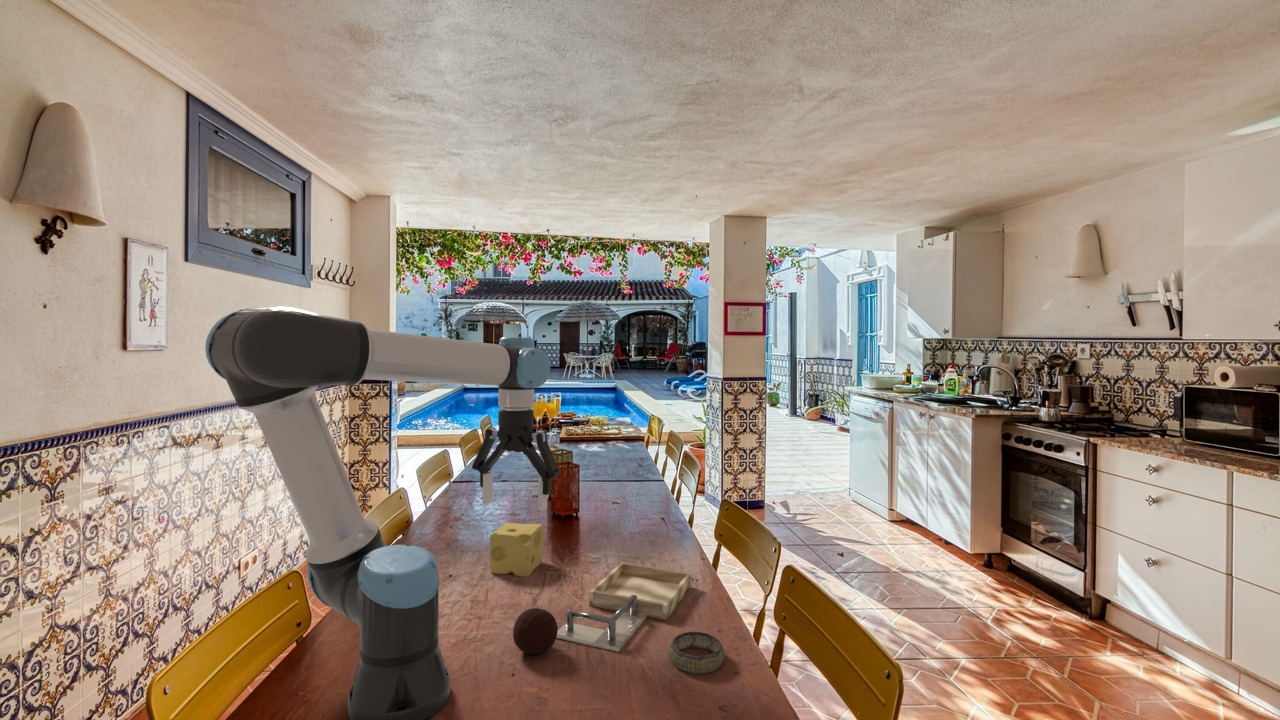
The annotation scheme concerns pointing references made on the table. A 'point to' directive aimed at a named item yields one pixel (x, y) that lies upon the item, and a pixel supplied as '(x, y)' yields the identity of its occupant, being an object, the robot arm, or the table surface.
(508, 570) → the cheese
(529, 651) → the dark brown ball
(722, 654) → the decorative ring
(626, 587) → the tray
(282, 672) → the table surface
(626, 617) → the corner grab bar
